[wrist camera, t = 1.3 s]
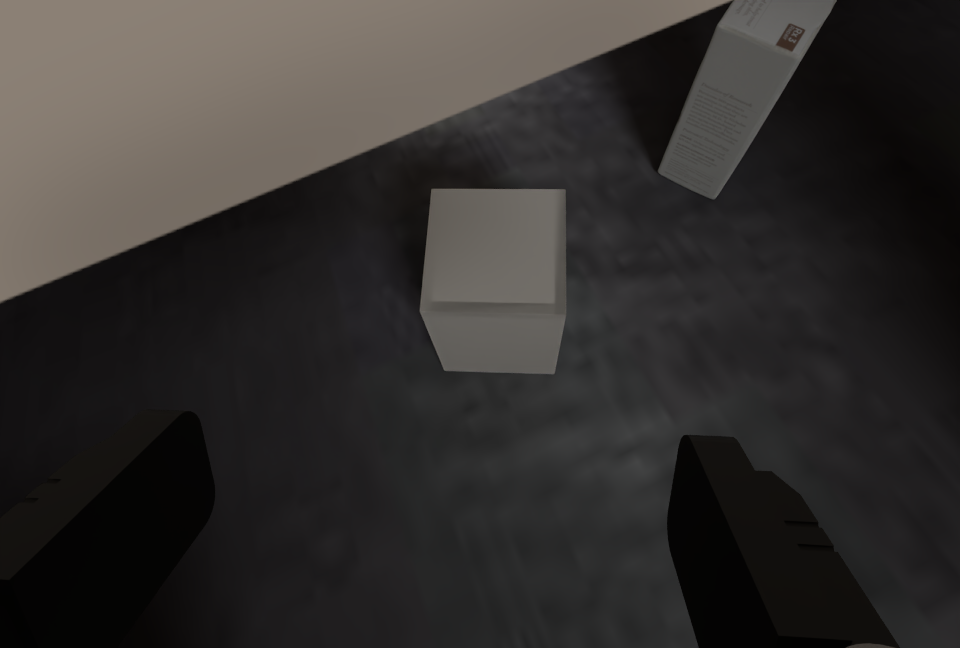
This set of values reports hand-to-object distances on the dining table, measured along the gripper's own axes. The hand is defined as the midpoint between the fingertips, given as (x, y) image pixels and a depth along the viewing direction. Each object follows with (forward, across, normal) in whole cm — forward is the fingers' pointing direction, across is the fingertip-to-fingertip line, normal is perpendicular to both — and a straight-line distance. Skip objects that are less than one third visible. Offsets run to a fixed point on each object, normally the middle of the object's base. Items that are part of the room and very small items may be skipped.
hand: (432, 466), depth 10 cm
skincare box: (+32, -13, -1) cm, 35 cm away
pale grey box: (+24, 0, +8) cm, 25 cm away
